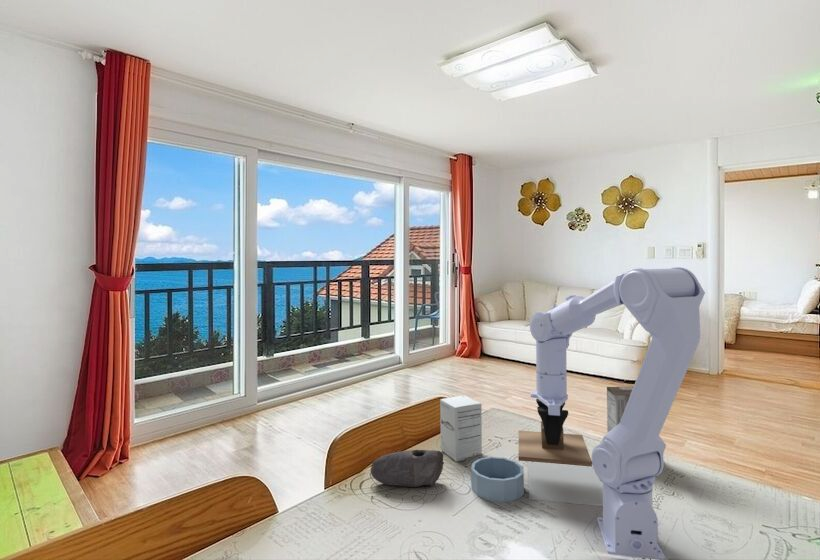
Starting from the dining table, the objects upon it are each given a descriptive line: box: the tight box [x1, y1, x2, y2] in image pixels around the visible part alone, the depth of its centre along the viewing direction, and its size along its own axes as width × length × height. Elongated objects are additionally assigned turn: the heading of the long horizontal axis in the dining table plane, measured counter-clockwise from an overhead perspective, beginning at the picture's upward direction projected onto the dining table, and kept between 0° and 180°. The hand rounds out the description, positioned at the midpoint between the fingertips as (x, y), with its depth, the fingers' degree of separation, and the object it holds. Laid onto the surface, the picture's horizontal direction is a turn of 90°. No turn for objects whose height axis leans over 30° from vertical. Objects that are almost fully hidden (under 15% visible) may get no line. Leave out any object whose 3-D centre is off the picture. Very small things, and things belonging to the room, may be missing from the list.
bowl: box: [470, 456, 525, 503], centre depth 87 cm, size 10×10×4 cm
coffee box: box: [606, 386, 634, 434], centre depth 99 cm, size 9×6×16 cm
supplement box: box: [439, 395, 483, 463], centre depth 105 cm, size 7×7×13 cm
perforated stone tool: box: [370, 449, 445, 488], centre depth 90 cm, size 15×5×7 cm, turn 84°
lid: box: [518, 420, 593, 467], centre depth 88 cm, size 13×13×5 cm
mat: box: [526, 461, 603, 507], centre depth 89 cm, size 16×16×1 cm
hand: (551, 439), depth 88 cm, fingers closed on lid, 4 cm apart
